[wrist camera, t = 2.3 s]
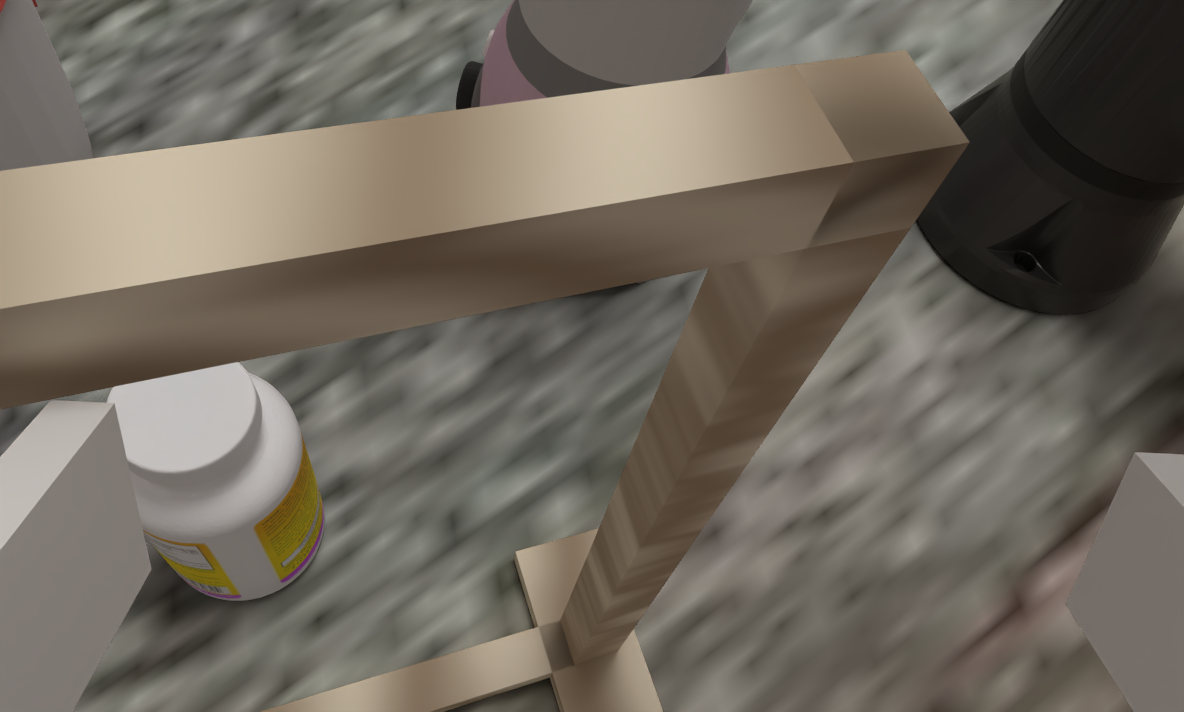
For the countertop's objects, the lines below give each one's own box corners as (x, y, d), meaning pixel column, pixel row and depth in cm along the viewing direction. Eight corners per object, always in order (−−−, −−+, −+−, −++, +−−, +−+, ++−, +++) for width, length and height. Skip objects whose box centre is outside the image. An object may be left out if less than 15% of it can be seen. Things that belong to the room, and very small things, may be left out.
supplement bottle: (311, 446, 43) (271, 301, 32) (339, 580, 41) (307, 472, 30) (159, 481, 41) (61, 340, 30) (178, 624, 39) (79, 527, 28)
